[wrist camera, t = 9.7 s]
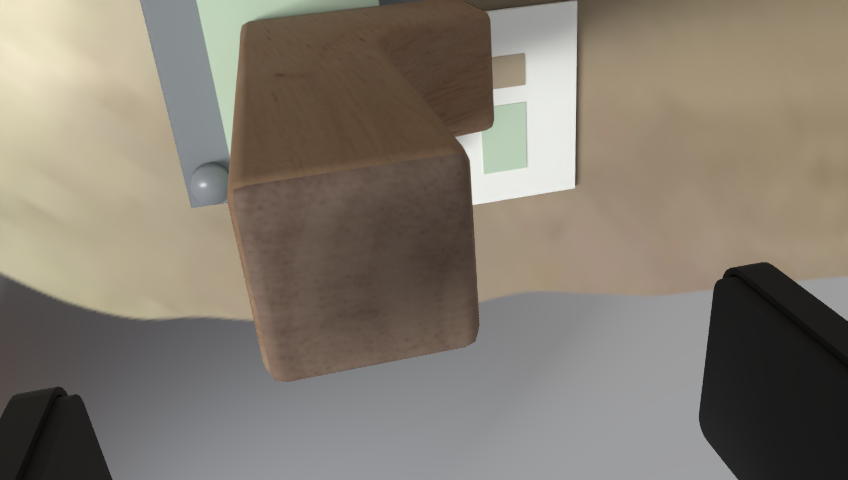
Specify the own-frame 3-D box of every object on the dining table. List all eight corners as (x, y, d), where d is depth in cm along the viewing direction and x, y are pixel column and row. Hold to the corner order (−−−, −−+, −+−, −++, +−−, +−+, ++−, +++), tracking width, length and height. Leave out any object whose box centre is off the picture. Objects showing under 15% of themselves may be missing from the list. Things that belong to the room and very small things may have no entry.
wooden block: (460, -6, 30) (702, 112, 14) (466, 101, 32) (684, 312, 16) (238, 21, 28) (221, 185, 12) (259, 131, 30) (268, 394, 14)
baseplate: (408, -96, 32) (433, -94, 28) (429, 156, 38) (452, 191, 33) (131, -69, 30) (110, -62, 26) (194, 192, 36) (186, 234, 31)
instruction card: (575, 0, 36) (578, 1, 35) (572, 186, 40) (575, 188, 40) (417, 19, 35) (419, 20, 34) (433, 208, 39) (435, 211, 39)
